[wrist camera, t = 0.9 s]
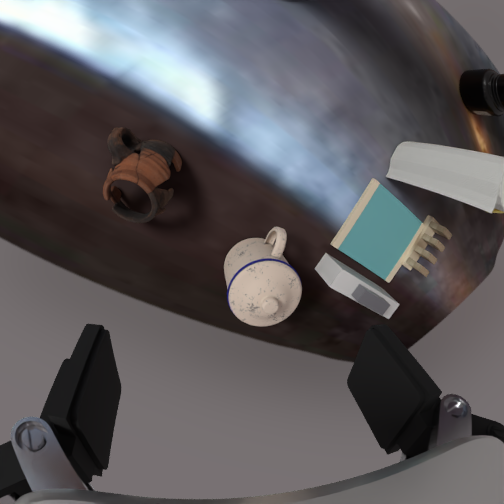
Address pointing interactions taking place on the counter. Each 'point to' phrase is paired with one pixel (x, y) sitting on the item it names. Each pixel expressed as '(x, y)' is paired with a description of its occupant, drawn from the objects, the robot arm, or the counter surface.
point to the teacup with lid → (261, 280)
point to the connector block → (355, 286)
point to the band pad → (378, 231)
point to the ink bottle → (483, 91)
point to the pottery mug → (139, 172)
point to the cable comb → (421, 244)
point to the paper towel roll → (451, 173)
